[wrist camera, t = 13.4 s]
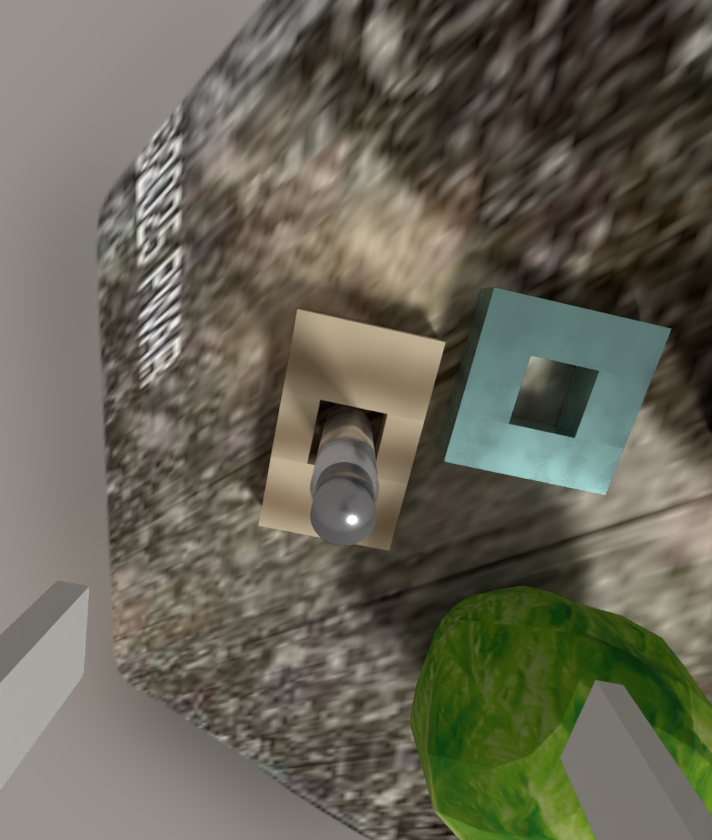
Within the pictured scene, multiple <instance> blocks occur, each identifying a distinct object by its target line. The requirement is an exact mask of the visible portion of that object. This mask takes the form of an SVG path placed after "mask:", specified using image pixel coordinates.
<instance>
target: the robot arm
mask: <svg viewBox="0 0 712 840" xmlns="http://www.w3.org/2000/svg"><path fill="white" fill-rule="evenodd" d="M88 597H89V586H84V585H79V584H73V583H68V582H62V581H57V582H56V583H55V584H53V585H52V586H51V587H50V588H49V589H48V590H47V591H46V592H45V593H44V594H43V595H42V596H41V597H40V598H39V599H38V600H37V601H36V602H35V603H34V604H32V605H31V606H30V607H29V608H28V609H27V610H26V611H25V612H24V613H23V614H22V615H21V616H20V617H19V618H18V619H17V620H16V621H15V622H13V623H12V624H11V625H10V626H9V627H8V628H7V629H6V630H5V631H4V632H3V633H2V634H1V635H0V790H1V788H2V787H3V785H4V784H5V783H6V781H7V780H8V779H9V777H10V776H11V774H12V773H13V772H14V770H15V769H16V767H17V766H18V765H19V763H20V762H21V761H22V759H23V758H24V756H25V755H26V754H27V752H28V751H29V750H30V748H31V747H32V745H33V744H34V743H35V741H36V740H37V738H38V737H39V736H40V734H41V733H42V732H43V730H44V729H45V727H46V726H47V725H48V723H49V722H50V721H51V719H52V718H53V716H54V715H55V713H56V712H57V711H58V709H59V708H60V707H61V705H62V704H63V702H64V701H65V700H66V698H67V697H68V696H69V694H70V693H71V691H72V690H73V688H74V687H75V686H76V685H77V683H78V682H79V680H80V679H81V677H82V676H83V674H84V660H85V643H86V628H87V611H88ZM560 759H561V761H562V763H563V765H564V768H565V770H566V772H567V775H568V777H569V779H570V781H571V784H572V786H573V788H574V791H575V793H576V795H577V797H578V800H579V802H580V804H581V807H582V809H583V811H584V813H585V816H586V818H587V820H588V823H589V825H590V827H591V829H592V832H593V834H594V836H595V839H596V840H712V815H711V813H710V812H709V811H708V809H707V808H706V806H705V805H704V803H703V802H702V800H701V799H700V797H699V796H698V794H697V793H696V791H695V790H694V788H693V787H692V786H691V784H690V783H689V781H688V780H687V778H686V777H685V775H684V774H683V772H682V771H681V769H680V768H679V766H678V765H677V763H676V762H675V761H674V759H673V758H672V756H671V755H670V753H669V752H668V750H667V749H666V747H665V746H664V744H663V743H662V741H661V740H660V738H659V737H658V736H657V734H656V733H655V731H654V730H653V728H652V727H651V725H650V724H649V722H648V721H647V719H646V718H645V716H644V715H643V713H642V712H641V711H640V709H639V708H638V706H637V705H636V703H635V702H634V700H633V699H632V697H631V696H630V694H629V693H628V691H627V690H626V688H625V687H624V686H623V685H620V684H614V683H609V682H603V681H598V680H595V682H594V685H593V687H592V689H591V691H590V693H589V696H588V698H587V700H586V702H585V704H584V707H583V709H582V711H581V713H580V715H579V718H578V720H577V722H576V724H575V726H574V728H573V731H572V733H571V735H570V737H569V739H568V742H567V744H566V746H565V748H564V750H563V753H562V755H561V757H560Z"/></svg>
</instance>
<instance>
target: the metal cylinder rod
mask: <svg viewBox="0 0 712 840" xmlns="http://www.w3.org/2000/svg"><path fill="white" fill-rule="evenodd" d="M310 494H311V498H312V500H313V501H312V506H311V512H310V520H311V524H312V527H313V529H314V530H315V532H316V533H317V534H318V536H319V537H321V538H322V539H323V540H325V541H326V542H328V543H331V544H334V545H339V546H348V545H353V544H356V543H358V542H360V541H362V540H364V539H365V538H366V537H367V536H368V535H369V534H370V533H371V531H372V530H373V528H374V525H375V522H376V508H375V503H376V501H377V498H378V495H379V481H378V474H377V466H376V458H375V451H374V443H373V435H372V428H371V423H370V420H369V418H368V416H367V415H366V414H365V413H364V412H363V411H362V410H360V409H358V408H356V407H352V406H343V407H339V408H337V409H335V410H334V411H332V412H331V413H330V414H329V416H328V417H327V419H326V421H325V424H324V428H323V433H322V437H321V441H320V445H319V449H318V453H317V458H316V462H315V466H314V470H313V474H312V478H311V483H310Z"/></svg>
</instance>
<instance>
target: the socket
mask: <svg viewBox="0 0 712 840" xmlns="http://www.w3.org/2000/svg"><path fill="white" fill-rule="evenodd" d="M670 331H671V328H666V327H662V326H658V325H653V324H649V323H645V322H640V321H636V320H632V319H628V318H623V317H619V316H615V315H610V314H606V313H602V312H598V311H593V310H589V309H585V308H580V307H576V306H572V305H567V304H563V303H559V302H555V301H550V300H546V299H542V298H537V297H533V296H529V295H524V294H520V293H516V292H512V291H507V290H503V289H499V288H482V289H481V291H480V295H479V298H478V302H477V306H476V309H475V313H474V316H473V320H472V323H471V327H470V330H469V334H468V338H467V341H466V345H465V348H464V352H463V355H462V359H461V362H460V366H459V370H458V373H457V377H456V380H455V384H454V387H453V391H452V394H451V398H450V402H449V405H448V409H447V412H446V416H445V419H444V423H443V426H442V430H441V434H440V437H439V441H438V444H437V449H438V451H439V453H440V455H441V457H442V459H443V460H444V462H449V463H454V464H458V465H463V466H468V467H473V468H478V469H483V470H487V471H492V472H497V473H502V474H507V475H512V476H516V477H521V478H526V479H531V480H536V481H541V482H545V483H550V484H555V485H560V486H565V487H569V488H574V489H579V490H584V491H589V492H594V493H598V494H603V495H605V494H606V492H607V489H608V487H609V484H610V482H611V479H612V477H613V474H614V472H615V469H616V467H617V464H618V462H619V459H620V457H621V454H622V452H623V449H624V447H625V444H626V442H627V439H628V437H629V434H630V432H631V429H632V427H633V424H634V422H635V419H636V417H637V414H638V412H639V409H640V407H641V404H642V402H643V399H644V397H645V394H646V392H647V389H648V387H649V384H650V381H651V379H652V376H653V374H654V371H655V369H656V366H657V364H658V361H659V359H660V356H661V354H662V351H663V349H664V346H665V344H666V341H667V339H668V336H669V334H670ZM530 356H536V357H540V358H545V359H549V360H553V361H558V362H562V363H567V364H571V365H576V366H577V367H576V370H575V373H574V376H573V379H572V382H571V385H570V387H569V390H568V393H567V396H566V399H565V402H564V404H563V407H562V410H561V413H560V416H559V419H558V422H557V424H556V426H553V425H549V424H544V423H539V422H535V421H530V420H525V419H521V418H516V417H511V415H512V412H513V409H514V406H515V403H516V399H517V396H518V393H519V390H520V387H521V384H522V381H523V378H524V375H525V371H526V368H527V365H528V362H529V359H530Z"/></svg>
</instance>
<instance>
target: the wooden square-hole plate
mask: <svg viewBox="0 0 712 840" xmlns="http://www.w3.org/2000/svg"><path fill="white" fill-rule="evenodd" d="M444 346H445V342H444V341H442V340H440V339H436V338H432V337H427V336H423V335H418V334H414V333H410V332H405V331H401V330H396V329H392V328H387V327H383V326H378V325H374V324H369V323H365V322H360V321H356V320H351V319H347V318H343V317H338V316H334V315H329V314H325V313H320V312H316V311H311V310H307V309H302V308H301V309H297V314H296V319H295V325H294V331H293V336H292V342H291V348H290V353H289V359H288V364H287V370H286V376H285V381H284V387H283V392H282V398H281V404H280V409H279V415H278V420H277V426H276V432H275V437H274V443H273V448H272V454H271V460H270V465H269V471H268V476H267V482H266V488H265V493H264V499H263V504H262V510H261V516H260V521H259V526H263V527H268V528H274V529H279V530H284V531H289V532H294V533H299V534H305V535H310V536H315V537H319V536H318V534H317V533H316V532H315V530H314V529H313V527H312V524H311V520H310V512H311V506H312V501H313V500H312V498H311V494H310V483H311V478H312V474H313V470H314V466H315V462H316V458H317V453H313V452H310V451H311V446H312V442H313V437H314V432H315V427H316V422H317V417H318V412H319V407H320V402H321V400H324V401H329V402H334V403H339V404H343V405H348V406H353V407H357V408H362V409H367V410H372V411H376V412H381V413H384V414H383V418H382V422H381V426H380V430H379V434H378V438H377V443H376V447H375V458H376V466H377V474H378V481H379V495H378V498H377V501H376V503H375V508H376V522H375V525H374V528H373V530H372V531H371V533H370V534H369V535H368V536H367V537H366V538H365V539H364V540H362V541H360V542H358V543H356V545H361V546H367V547H372V548H377V549H382V550H387V551H389V550H390V547H391V543H392V539H393V536H394V532H395V528H396V524H397V521H398V517H399V513H400V510H401V506H402V502H403V498H404V495H405V491H406V487H407V484H408V480H409V476H410V472H411V469H412V465H413V461H414V458H415V454H416V450H417V446H418V443H419V439H420V435H421V432H422V428H423V424H424V420H425V417H426V413H427V409H428V406H429V402H430V398H431V394H432V391H433V387H434V383H435V380H436V376H437V372H438V368H439V365H440V361H441V357H442V354H443V350H444ZM320 538H321V537H320Z"/></svg>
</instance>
